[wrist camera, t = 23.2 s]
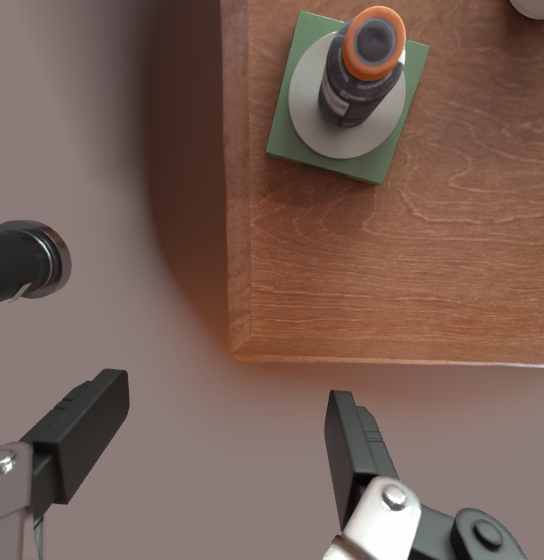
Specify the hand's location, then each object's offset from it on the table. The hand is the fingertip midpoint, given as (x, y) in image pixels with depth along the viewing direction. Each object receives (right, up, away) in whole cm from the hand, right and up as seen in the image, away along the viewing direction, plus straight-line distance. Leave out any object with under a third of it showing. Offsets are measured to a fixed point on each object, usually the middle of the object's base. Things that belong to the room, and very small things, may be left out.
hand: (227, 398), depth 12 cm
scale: (+10, +25, +23) cm, 35 cm away
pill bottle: (+9, +24, +19) cm, 32 cm away
